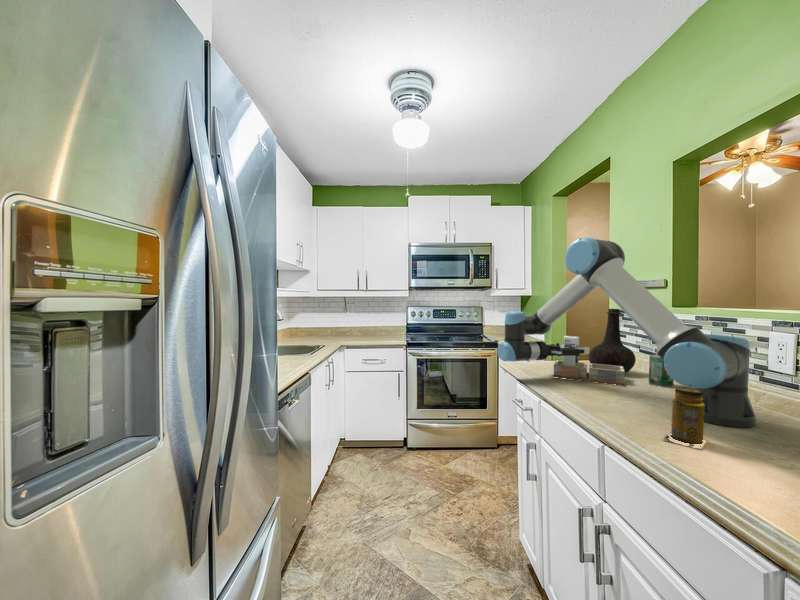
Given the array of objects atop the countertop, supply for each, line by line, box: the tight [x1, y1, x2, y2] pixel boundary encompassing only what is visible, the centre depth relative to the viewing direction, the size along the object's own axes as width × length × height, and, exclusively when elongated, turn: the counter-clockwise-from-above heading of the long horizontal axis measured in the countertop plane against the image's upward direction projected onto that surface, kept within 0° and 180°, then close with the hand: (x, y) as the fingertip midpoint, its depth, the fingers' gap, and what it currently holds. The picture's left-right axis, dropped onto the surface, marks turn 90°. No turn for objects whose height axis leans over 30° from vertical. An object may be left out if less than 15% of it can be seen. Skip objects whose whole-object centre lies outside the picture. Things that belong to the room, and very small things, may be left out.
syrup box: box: [562, 335, 580, 366], centre depth 159 cm, size 6×6×14 cm
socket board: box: [552, 359, 626, 387], centre depth 155 cm, size 15×25×5 cm, turn 63°
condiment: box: [662, 386, 708, 447], centre depth 90 cm, size 7×8×12 cm
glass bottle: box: [588, 308, 636, 374], centre depth 167 cm, size 18×18×28 cm
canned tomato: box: [648, 354, 675, 389], centre depth 146 cm, size 8×8×11 cm
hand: (580, 349), depth 160 cm, fingers closed on syrup box, 8 cm apart
